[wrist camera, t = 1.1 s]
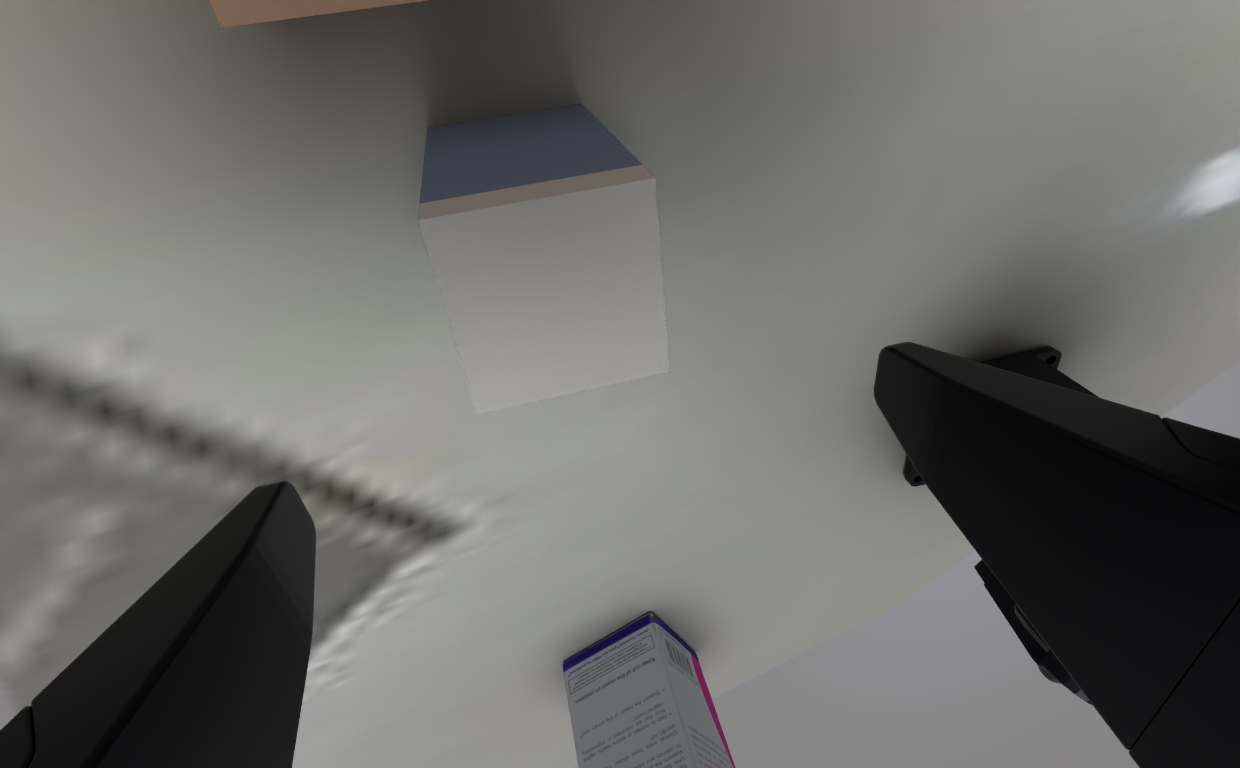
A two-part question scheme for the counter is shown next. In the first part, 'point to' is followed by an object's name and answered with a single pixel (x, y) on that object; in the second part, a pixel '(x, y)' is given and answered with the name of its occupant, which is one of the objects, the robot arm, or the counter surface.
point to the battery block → (544, 255)
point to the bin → (287, 9)
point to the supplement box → (643, 703)
